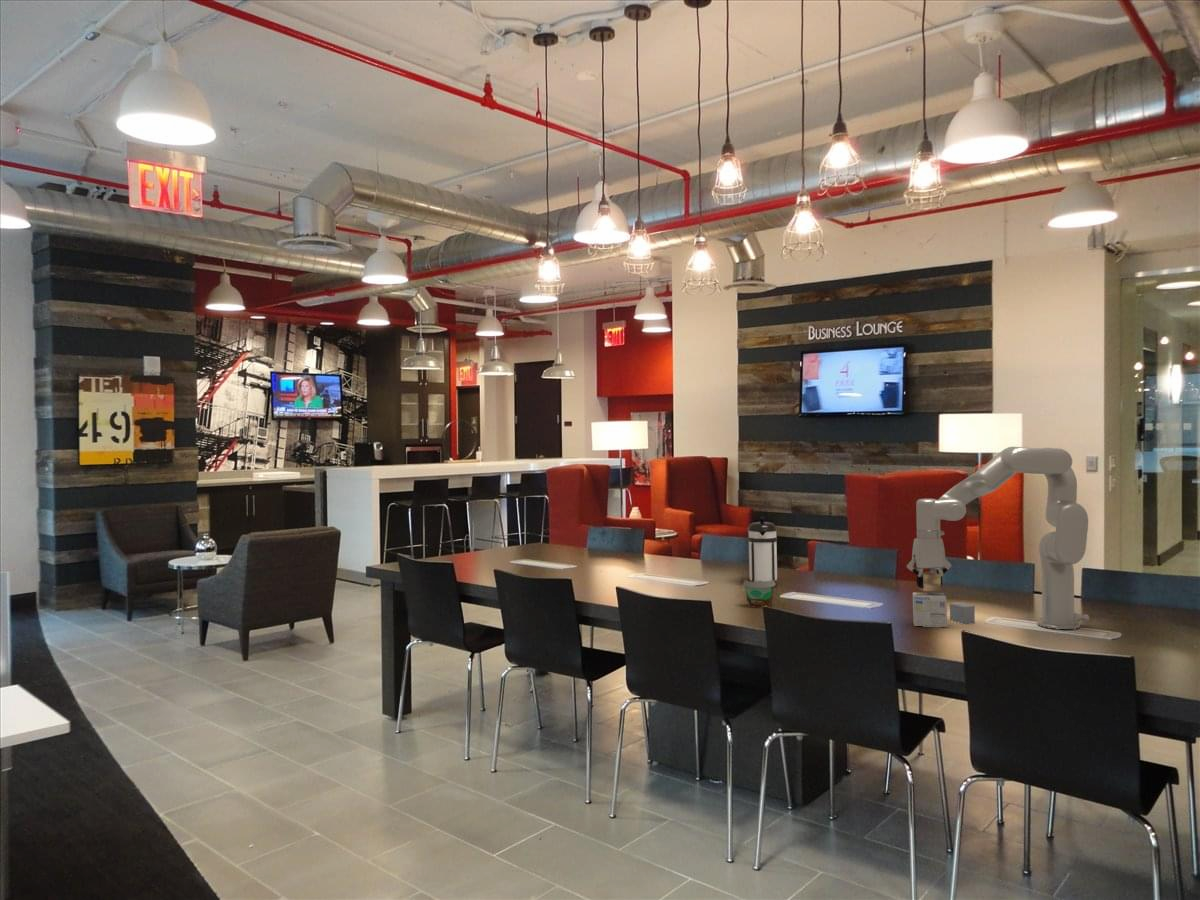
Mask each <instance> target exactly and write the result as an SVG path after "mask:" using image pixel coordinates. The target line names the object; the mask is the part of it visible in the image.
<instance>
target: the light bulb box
mask: <svg viewBox="0 0 1200 900" xmlns="http://www.w3.org/2000/svg"><path fill="white" fill-rule="evenodd" d="M947 603H948V602H947V596H946V594H945V593H944V592H940V593H939V592H912V615H913V616H912V618H913V619H912V620H913V622H912V623H913V626H914V627H915V626H923V627H922V628H941V627H947V628H948V608H947V607H948V605H947Z"/></svg>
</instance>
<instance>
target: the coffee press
mask: <svg viewBox="0 0 1200 900" xmlns="http://www.w3.org/2000/svg"><path fill="white" fill-rule="evenodd" d="M765 520H766V518H765V517H764V516H760V517H759V521H756V522H752V523H750V524H749V525H748V527H747V531H748V536H747V540H748V566H749V567H748V569H749V571H748V573H749V574H748V575H749V580H750V581H751V582H754V581H764V582H770V581H773V580H774V582H775V581H776V582H775V585H777V586H778V584H777V580H778V556H777V555H778V554H777V553H778V552H777V549H778V547H777V545H778V544H777V541H778V536H777V531H778V528H777V527H776V525H775V524H774V523H773V522H769V521H765Z"/></svg>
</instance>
